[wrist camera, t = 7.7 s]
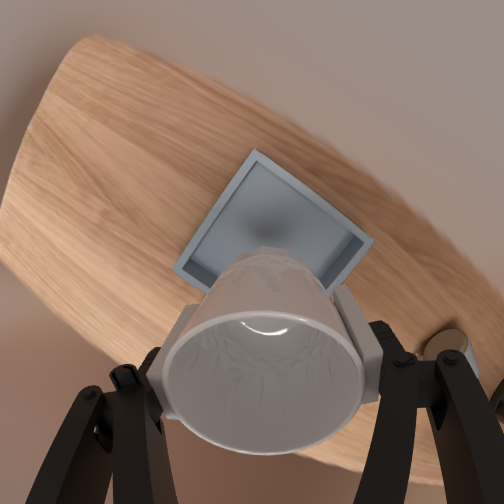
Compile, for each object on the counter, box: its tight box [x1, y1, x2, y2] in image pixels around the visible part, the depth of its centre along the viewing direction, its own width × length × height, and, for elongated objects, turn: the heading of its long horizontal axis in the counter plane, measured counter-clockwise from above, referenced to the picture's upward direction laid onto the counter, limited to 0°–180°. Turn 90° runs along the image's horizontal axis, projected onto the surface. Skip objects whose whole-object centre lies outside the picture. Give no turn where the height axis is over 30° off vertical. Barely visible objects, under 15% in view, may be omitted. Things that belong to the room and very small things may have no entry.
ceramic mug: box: [417, 329, 479, 378], centre depth 32 cm, size 11×8×8 cm
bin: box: [172, 149, 375, 297], centre depth 30 cm, size 15×15×4 cm
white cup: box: [162, 246, 366, 455], centre depth 15 cm, size 8×8×10 cm
